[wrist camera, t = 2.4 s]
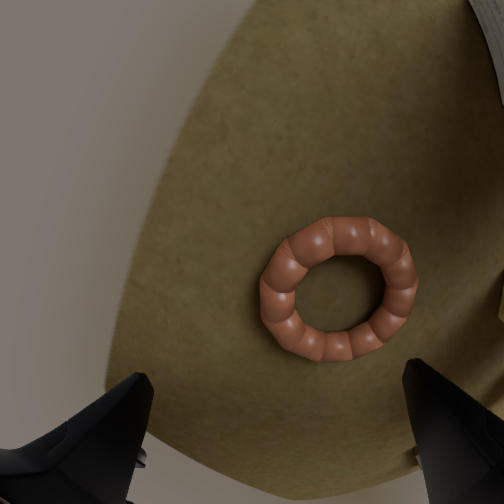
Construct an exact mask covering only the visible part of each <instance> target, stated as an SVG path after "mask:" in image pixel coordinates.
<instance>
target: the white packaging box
mask: <svg viewBox="0 0 504 504" xmlns="http://www.w3.org/2000/svg"><path fill="white" fill-rule="evenodd" d="M469 2H470V4H471V6H472V8H473V9H474V12H475V14H476V16H477V18H478V20H479V23H480V25H481V28H482V30H483V33H484V35H485V38H486V41H487V44H488V47H489V50H490V53H491V56H492V59H493V63H494V67H495V70H496V74H497V78H498V83H499V88H500V93H501V99H502V104H503V105H504V0H469Z"/></svg>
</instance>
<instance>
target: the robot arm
mask: <svg viewBox="0 0 504 504" xmlns="http://www.w3.org/2000/svg"><path fill="white" fill-rule="evenodd" d="M402 383H403V388H404V393H405V398H406V404H407V409H408V415H409V420H410V423H411V427H412V430H413V434H414V438H415V441H416V445H417V449H418V453H419V457H420V461H421V465H422V469H423V473H424V478H425V483H426V488H427V492H428V498H429V503H430V504H504V421H503V420H502V419H501V418H499V417H498V416H496V415H495V414H494V413H492V412H491V411H490V410H487V408H486V407H484V406H483V405H482V404H480V403H479V402H478V401H476V400H475V399H474V398H472V397H471V396H470V395H468V394H467V393H466V392H464V391H463V390H462V389H460V388H459V387H458V386H456V385H455V384H454V383H452V382H451V381H450V380H448V379H447V378H446V377H444V376H443V375H442V374H440V373H439V372H438V371H436V370H435V369H434V368H432V367H431V366H430V365H428V364H427V363H425V362H424V361H423V360H421V359H420V358H414V359H410V360H408V361H407V363H406V366H405V369H404V373H403V376H402ZM153 396H154V389H153V386H152V384H151V382H150V380H149V378H148V377H147V375H146V374H145V373H139V372H135V373H133V374H132V375H130V376H129V377H128V378H126V379H125V380H123V381H122V382H121V383H119V384H118V385H117V386H115V387H114V388H112V389H111V390H110V391H108V392H107V393H105V394H104V395H103V396H101V397H100V398H99V399H97V400H96V401H94V402H93V403H92V404H90V405H89V406H87V407H86V408H84V409H83V410H82V411H80V412H79V413H77V414H76V415H74V416H73V417H72V418H70V419H69V420H68V421H66V422H64V423H63V424H61V425H60V426H58V427H57V428H55V429H54V430H52V431H51V432H49V433H47V434H45V435H44V436H42V437H40V438H38V439H36V440H34V441H32V442H31V443H29V444H27V445H25V446H23V447H21V448H18V449H12V450H8V449H0V504H134V503H133V502H131V501H127V500H126V497H127V493H128V490H129V486H130V482H131V479H132V475H133V472H134V469H135V468H145V466H146V465H145V464H143V463H142V462H140V461H139V460H137V458H138V455H139V452H140V449H141V445H142V442H143V439H144V436H145V432H146V429H147V425H148V420H149V415H150V410H151V405H152V400H153Z"/></svg>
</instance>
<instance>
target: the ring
mask: <svg viewBox="0 0 504 504" xmlns="http://www.w3.org/2000/svg"><path fill="white" fill-rule="evenodd" d="M334 255H362V256H364V257H365V258H367V259H369V260H370V261H372V262H374V263H375V264H377V265H378V266H379V267H380V269H381V272H382V274H383V276H384V279H385V281H386V286H385V292H384V297H383V302H382V304H381V305H380V306H379V307H378V309H377V310H376V311H375V312H374V314H373V315H372V316H371V317H370V319H369V320H368V321H366V322H364V323H362V324H360V325H358V326H356V327H354V328H352V329H350V330H348V331H335V332H322V331H320V330H318V329H316V328H314V327H311V326H309V325H307V324H305V323H304V322H303V320H302V319H301V317H300V316H299V314H298V313H297V311H296V310H295V289H296V287H297V286H298V284H299V283H300V281H301V280H302V278H303V277H304V275H305V274H306V272H307V271H308V269H309V268H311V267H313V266H315V265H317V264H319V263H321V262H322V261H324V260H326V259H328V258H330V257H332V256H334ZM417 285H418V275H417V272H416V269H415V266H414V263H413V260H412V257H411V254H410V251H409V248H408V246H407V244H406V242H405V241H404V240H403V239H402V238H401V237H399V236H398V235H396V234H395V233H393V232H392V231H391V230H389V229H388V228H386V227H385V226H383V225H382V224H380V223H379V222H377V221H376V220H374V219H372V218H369V217H324V218H321V219H319V220H317V221H316V222H314V223H312V224H310V225H308V226H307V227H305V228H303V229H301V230H300V231H298V232H296V233H294V234H292V235H291V236H289V237H287V238H286V239H284V240H283V241H282V242H281V244H280V245H279V247H278V248H277V250H276V252H275V253H274V255H273V257H272V258H271V260H270V262H269V263H268V265H267V267H266V268H265V270H264V272H263V273H262V275H261V278H260V283H259V286H260V311H261V319H262V321H263V323H264V324H265V326H266V327H267V328H268V329H269V331H270V332H271V333H272V335H273V336H274V337H275V339H276V340H277V341H278V343H279V344H280V345H281V346H282V347H283V348H284V349H285V350H287V351H290V352H292V353H294V354H297V355H299V356H302V357H304V358H307V359H309V360H312V361H315V362H335V361H350V360H354V359H357V358H359V357H361V356H363V355H365V354H367V353H369V352H371V351H373V350H375V349H377V348H379V347H381V346H383V345H385V344H386V343H387V342H388V341H389V340H390V339H391V338H392V336H393V335H394V334H395V333H396V332H397V331H398V330H399V328H400V327H401V326H402V325H403V324H404V322H405V321H406V320H407V319H408V317H409V316H410V313H411V310H412V306H413V302H414V298H415V294H416V290H417Z"/></svg>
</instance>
